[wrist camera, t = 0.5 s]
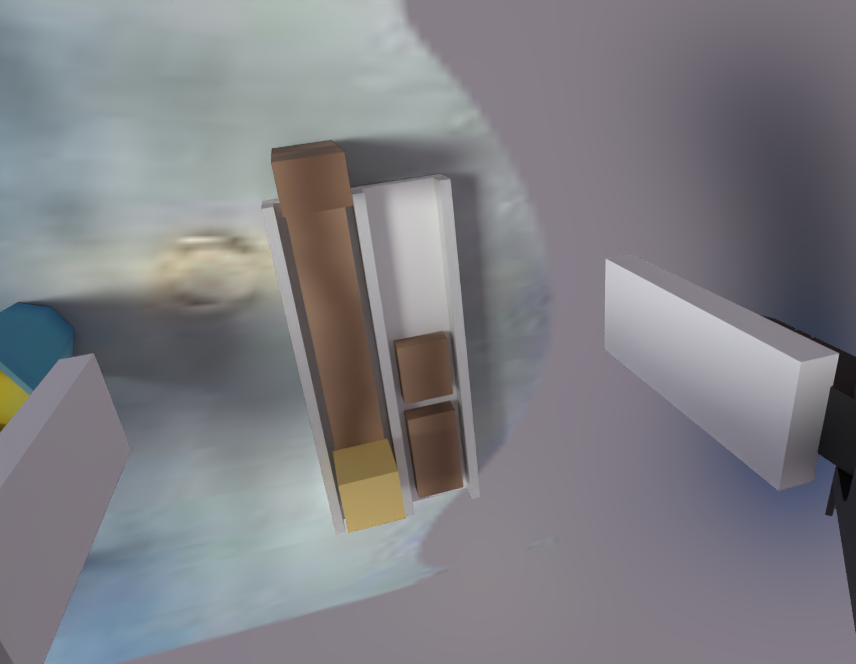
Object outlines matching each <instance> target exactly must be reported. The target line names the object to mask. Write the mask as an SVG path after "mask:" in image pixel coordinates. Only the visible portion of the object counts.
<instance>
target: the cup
mask: <svg viewBox="0 0 856 664" xmlns="http://www.w3.org/2000/svg"><path fill="white" fill-rule="evenodd" d="M73 343H74V328H72V327H71V326H70V325H69V324H68V323H67V322H66V321H65V320H64V319H63V318H62V317H61V316H60V315H59V314H58V313H57V312H56V311H55V310H54V309H53V308H52V307H47V306H40V305H32V304H25V303H16V304H14V305H12V306H10V307H9V308H7V309H5V310H3V311H2V312H0V432H1V431H2V430H3V429H4V427H5V426H6V425H7V424H8V422H9V421H10V420H11V419H12V417H13V416H14V415H15V414H16V412H17V411H18V410H19V409H20V407H21V406H22V405H23V404H24V402H25V401H26V400H27V399H28V398H29V396H30V395H31V394H32V393H33V391H34V390H35V389H36V388H37V386H38V385H39V384H40V383H41V381H42V380H43V379H44V378H45V376H46V375H47V374H48V373H49V371H50V370H51V369H52V368H53V366H54V365H55V364H56V363H57V362H58V360H60V359H65V358H71V357H72V356H73Z"/></svg>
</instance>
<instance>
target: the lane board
mask: <svg viewBox="0 0 856 664" xmlns="http://www.w3.org/2000/svg"><path fill="white" fill-rule="evenodd" d="M351 194H352V201H353V206H350V207H345V210H346V216H347V222H348V228H349V234H350V239H351V245H352V251H353V257H354V263H355V269H356V275H357V280H358V286H359V292H360V298H361V304H362V310H363V316H364V321H365V327H366V333H367V339H368V345H369V351H370V356H371V362H372V368H373V374H374V380H375V386H376V392H377V397H378V403H379V409H380V415H381V421H382V427H383V433H384V438H385V439H388V441H389V444H390V447H391V451H392V454H393V457H394V460H395V463H396V466H397V469H398V473H399V479H400V485H401V492H402V498H403V504H404V510H405V516H408V515H412V514H414V509H413V503H412V502H413V501H417V500H421V499H425V498H429V497H433V496H437V495H441V494H445V493H449V492H452V491H456V490H460V489H464V488H467V490H468V492H469V494H470V496H471V498H472V499H474V498H478V497H480V488H479V476H478V465H477V455H476V444H475V433H474V423H473V412H472V402H471V391H470V381H469V370H468V359H467V349H466V338H465V328H464V317H463V306H462V296H461V285H460V275H459V264H458V254H457V243H456V232H455V222H454V211H453V201H452V190H451V179H449V178H447V177H446V176H444V175H442V174H435V175H429V176H422V177H416V178H410V179H403V180H397V181H390V182H384V183H377V184H371V185H365V186H358V187H352V188H351ZM261 211H262V215H263V220H264V224H265V228H266V233H267V237H268V241H269V246H270V250H271V254H272V259H273V263H274V267H275V272H276V276H277V280H278V285H279V289H280V293H281V298H282V302H283V306H284V311H285V315H286V319H287V324H288V328H289V332H290V337H291V341H292V345H293V350H294V354H295V358H296V363H297V367H298V371H299V376H300V380H301V384H302V389H303V393H304V397H305V402H306V406H307V411H308V415H309V419H310V424H311V428H312V432H313V437H314V441H315V445H316V450H317V454H318V458H319V463H320V467H321V471H322V476H323V480H324V484H325V489H326V493H327V497H328V502H329V506H330V510H331V515H332V519H333V523H334V528H335V532H336V534H338V533H342V532H345V527H344V521H343V519H345V515H344V510H343V505H342V501H341V496H340V492H339V487H338V481H337V475H336V469H335V463H334V456H333V451H336V449H335V445H334V440H333V435H332V431H331V426H330V421H329V417H328V412H327V407H326V403H325V398H324V393H323V389H322V384H321V379H320V375H319V370H318V365H317V361H316V356H315V351H314V347H313V342H312V337H311V333H310V328H309V323H308V319H307V314H306V309H305V305H304V300H303V295H302V291H301V286H300V281H299V277H298V272H297V267H296V263H295V258H294V253H293V249H292V244H291V239H290V235H289V230H288V225H287V221H286V217H283V215H282V211H281V206H280V201H279V199H275V200H268V201H262V205H261ZM438 331H443V333H444V334H445V336H446V337H447V340H448V349H449V358H450V367H451V377H452V386H453V394H451V395H447V396H442V397H438V398H433V399H429V400H424V401H420V402H416V403H411V404H407V405H405V402H404V400H403V398H402V395H401V388H400V382H399V375H398V368H397V362H396V355H395V349H394V342H393V341H394V340H399V339H404V338H409V337H414V336H419V335H424V334H429V333H434V332H438ZM449 400H450V402H451V403H452V405H453V407H454V409H455V414H456V423H457V432H458V441H459V450H460V460H461V469H462V478H463V488H459V489H455V490H451V491H447V492H443V493H439V494H435V495H431V496H427V497H423V498H419V496H418V493H417V490H416V487H415V481H414V474H413V468H412V461H411V455H410V448H409V441H408V435H407V428H406V421H405V415H404V411H405V410H409V409H414V408H418V407H423V406H427V405H432V404H436V403H440V402H445V401H449Z"/></svg>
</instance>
